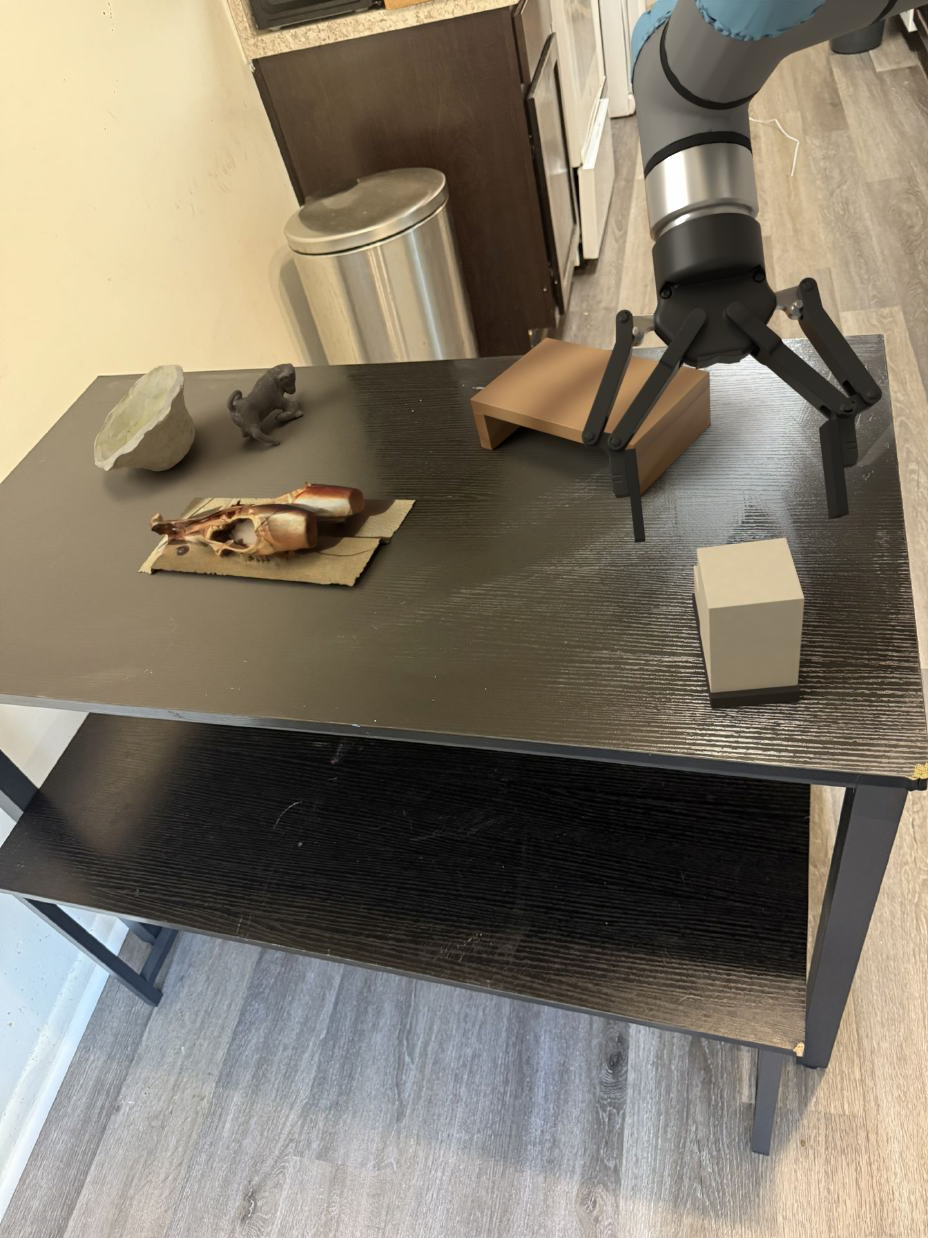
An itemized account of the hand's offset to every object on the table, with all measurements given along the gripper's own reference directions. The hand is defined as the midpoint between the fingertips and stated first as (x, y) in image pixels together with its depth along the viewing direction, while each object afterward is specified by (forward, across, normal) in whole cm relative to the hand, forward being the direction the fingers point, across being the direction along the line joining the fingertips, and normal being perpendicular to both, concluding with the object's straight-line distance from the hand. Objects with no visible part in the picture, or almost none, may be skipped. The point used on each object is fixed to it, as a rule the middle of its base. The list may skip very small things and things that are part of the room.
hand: (737, 529), depth 61 cm
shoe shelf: (-14, +10, -27) cm, 32 cm away
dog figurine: (-22, +48, -36) cm, 64 cm away
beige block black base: (+9, 0, -5) cm, 10 cm away
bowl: (-19, +62, -33) cm, 73 cm away
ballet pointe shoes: (-6, +44, -20) cm, 49 cm away
